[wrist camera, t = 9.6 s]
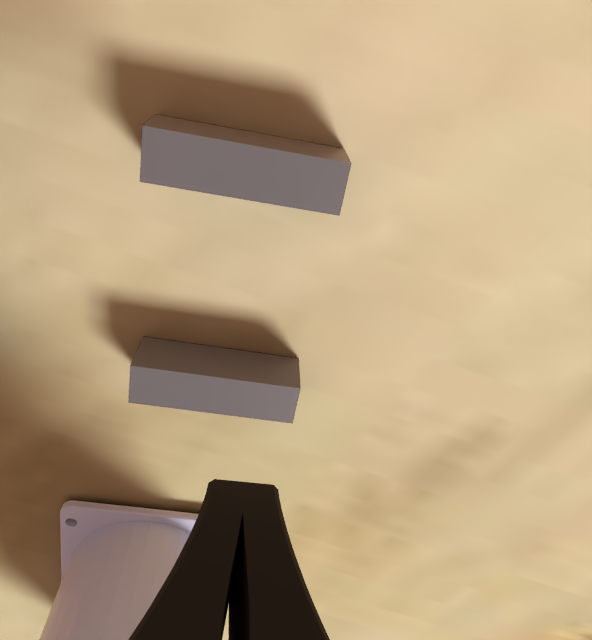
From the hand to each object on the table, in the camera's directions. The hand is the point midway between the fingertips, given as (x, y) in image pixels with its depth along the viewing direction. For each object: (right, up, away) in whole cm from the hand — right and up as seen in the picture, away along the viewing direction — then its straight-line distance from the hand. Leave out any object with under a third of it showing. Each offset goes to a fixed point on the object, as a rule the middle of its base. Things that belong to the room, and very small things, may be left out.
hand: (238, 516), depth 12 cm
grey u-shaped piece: (-1, +6, +8) cm, 10 cm away
